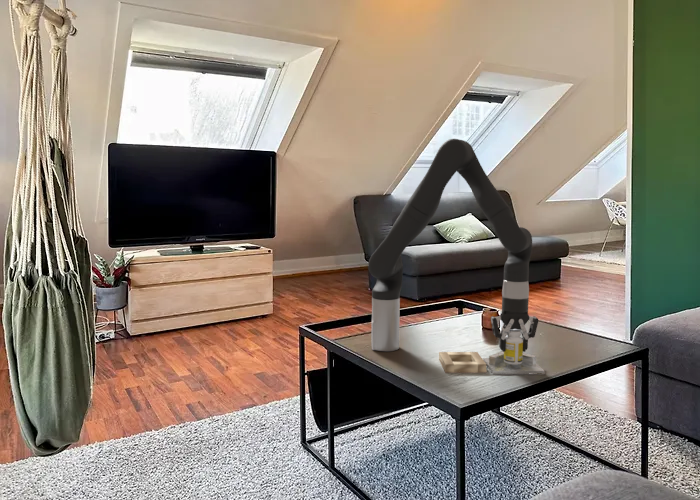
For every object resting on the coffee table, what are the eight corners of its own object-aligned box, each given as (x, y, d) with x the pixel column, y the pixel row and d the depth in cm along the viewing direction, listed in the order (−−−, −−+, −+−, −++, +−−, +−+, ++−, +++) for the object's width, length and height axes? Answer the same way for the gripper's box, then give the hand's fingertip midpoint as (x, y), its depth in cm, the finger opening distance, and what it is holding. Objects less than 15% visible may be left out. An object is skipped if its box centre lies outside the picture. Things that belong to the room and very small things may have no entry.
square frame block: (445, 372, 166) (445, 364, 166) (438, 359, 178) (439, 352, 177) (486, 372, 166) (486, 364, 166) (477, 359, 178) (477, 352, 177)
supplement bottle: (518, 359, 172) (520, 327, 171) (524, 365, 167) (526, 332, 166) (501, 359, 172) (502, 327, 171) (506, 365, 167) (507, 332, 166)
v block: (492, 374, 164) (492, 362, 164) (482, 361, 177) (483, 350, 176) (544, 374, 164) (544, 362, 164) (530, 360, 177) (531, 350, 176)
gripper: (494, 297, 163) (492, 354, 165) (544, 297, 163) (541, 354, 165) (488, 292, 171) (486, 347, 173) (535, 292, 171) (533, 347, 173)
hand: (513, 350), depth 169 cm, fingers closed on supplement bottle, 5 cm apart
